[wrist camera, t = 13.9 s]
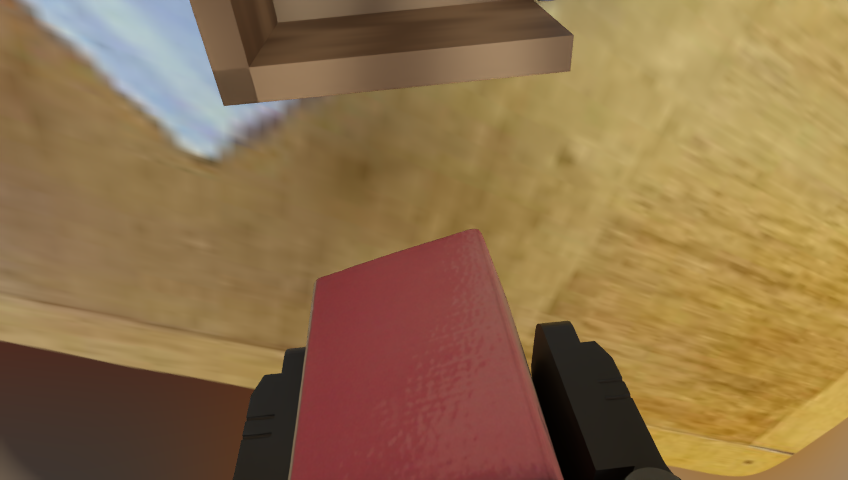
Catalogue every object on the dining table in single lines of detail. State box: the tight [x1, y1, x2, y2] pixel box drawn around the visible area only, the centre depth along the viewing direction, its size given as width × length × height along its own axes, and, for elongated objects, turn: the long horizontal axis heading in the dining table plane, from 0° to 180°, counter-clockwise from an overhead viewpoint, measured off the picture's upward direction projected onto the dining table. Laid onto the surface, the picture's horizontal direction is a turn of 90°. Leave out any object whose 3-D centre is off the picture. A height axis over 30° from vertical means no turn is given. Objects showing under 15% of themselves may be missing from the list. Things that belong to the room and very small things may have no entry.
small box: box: [288, 229, 564, 480], centre depth 10 cm, size 5×4×8 cm
